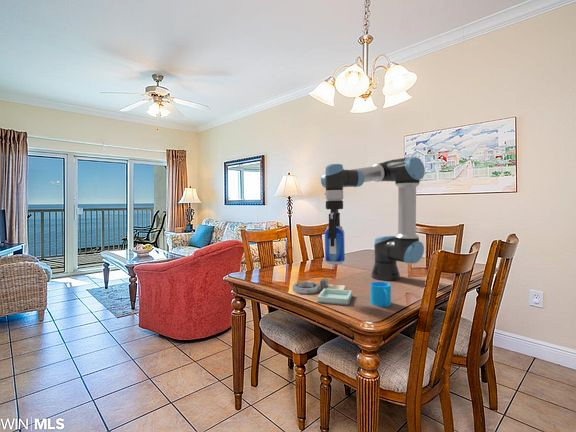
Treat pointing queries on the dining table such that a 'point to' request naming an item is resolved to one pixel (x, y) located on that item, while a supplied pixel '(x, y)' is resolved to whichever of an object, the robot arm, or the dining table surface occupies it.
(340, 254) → the blue bottle
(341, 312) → the dining table surface
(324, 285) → the dog
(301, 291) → the collar
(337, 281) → the dining table surface
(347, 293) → the tray
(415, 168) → the robot arm
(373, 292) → the mug
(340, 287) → the plate
